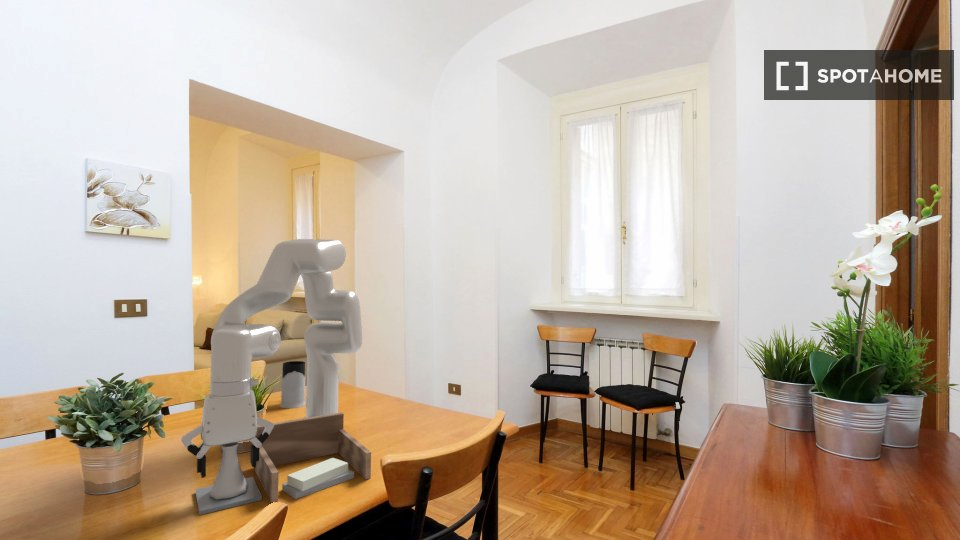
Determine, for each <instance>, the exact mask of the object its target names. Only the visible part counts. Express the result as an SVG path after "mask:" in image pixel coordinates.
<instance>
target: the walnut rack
mask: <svg viewBox="0 0 960 540" xmlns="http://www.w3.org/2000/svg"><path fill="white" fill-rule="evenodd" d="M272 423H273V424H274V427H273V429H272V431H271V433H270V434H269V437H268V438H267V439H266V440H265V441H264V442H263V443H262V445H261V447H260V451H259V461H256V467H253V470H254V471H255V473H256V476H257V477H258V479H259V482H260V483H261V485H262V487H263V490H264V491H265V493H266V495H267V497H268V499H269V501H270V503H271V504H273V503H272V502H274V503H278V502H279V471H278V469H277V467H276V466H280V465H281V466H282V465H286V464H291V463H297V462H301V461H306V460H310V459H315V458H320V457H324V456H329V455H334V454H339V455H340V456H341V457H342V458H343V459H344V460H345V462H347V463H348V465H350V466H351V467H352V468H353V469H354V470H355V471H357V473H358V474H359V475H360V476H362V478H363V479H365V480H370V479H371V478H372V474H371V473H372V470H371V469H372V451H370V450H369V449H368V448H367V447H365V445H363V444H362V443H361V442H360V441H359V440H357V439H356V438H354V437H353V436H352V435H351V434H350V433H349V432H347V430H345V429H344V413H343V412H338V413H335V414H328V415H322V416H315V417H309V418H305V417H302V418H298V419H296V418H295V419H291V420H285V421H279V422H272ZM264 429H265V427H263V426H260V425H257V434H256V437H258V436H259V435H260V434H261V433H262V432H263V431H264Z"/></svg>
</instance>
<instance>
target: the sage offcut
mask: <svg viewBox="0 0 960 540" xmlns="http://www.w3.org/2000/svg"><path fill="white" fill-rule="evenodd" d="M348 469H349V463H348V462H347V461H343V460H341V459H338V458H335V457H331V458H328V459H326V460H323V461H320V462H318V463H316V464H313V465H310V466H308V467H305V468H303V469H300V470H297V471H295V472H292V473H290V474H287V476H286V477H287V481H286V482H287V485H290V486H292V487H294V488H296V489H299V490H301V491H305V490H307V489H309V488H312V487H314V486H316V485H318V484H321V483H323V482H325V481H328V480H330V479H332V478H335V477H337V476H339V475H342V474H344V473H346V472H348Z"/></svg>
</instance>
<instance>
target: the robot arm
mask: <svg viewBox="0 0 960 540" xmlns="http://www.w3.org/2000/svg"><path fill="white" fill-rule="evenodd" d="M346 251H347V250H346V247H345V246H344V244H343V243H342V242H341V240H338V239H324V238H323V239H321V238H320V239H318V238H317V239H315V238H296V239H291V240H285V241H281V242H279V243H278V244H276V245H275V246H274V248H273V249H272V251H271V253H270V255H269V258H267V259H268V260H267V262H266V264H265V266H264V268H263V270H262V272H261V275H260V277H259V279H258V281H257V283H256V284H255V285H253V286H251V287H250V288H248V289H247V290H245V291H243V292H242V293H241V294H239V295H238V296H237V297H235V298H234V299H233V300H231V301H230V302H229V304H227V305H226V306H225V308H224V309H223V311H222V312H221V314H220V316H219V318H218V320H217V321H216V324H215V325H214V328H213V331H212V333H211V337H210V347H211V348H210V349H211V351H210V353H211V354H210V381H209V383H210V385H209V386H210V387H209V389H210V390H209V393H208V394H206V395H205V398H204V402H203V407H202V414H201V415H202V416H201V424H200V425H198V426H197V427H195V428H194V429H191V431H189V432H187V433H185V434H184V435H183V436H181V438H180V442H181V443H182V445H184V447H185V448H186V451H188V452H189V453H191V454H192V455H194V457H196V473H197V474H199V473H200V478H202V479H203V478H205V477H206V475H207V474H206V473H207V456H206V453H207V452H208V451H209V449H210V448H211V447H218V446H222V445H224V444H230V443H236V442H238V443H239V442H245V441H246V442H247V441H249V442H250V443H251V445H250V452H249V453H250V454H249V455H250V457H249V459H250V461H249V462H250V465H251V467H252V468H254V467H256V461H259V451H260V447H261V445H262V443H263V442H264V441H265V440H266V439H267V438H268V437H269V434H270V433H271V431H272V429H273V427H274V424H273V423H274V422H272V421H269V420H266V419H263V418H261V417H260V416H259V417H258V411H257V402H256V395H255V392H254V390H252V388H254V387H257V386H259V379H255V378H252V360H253V359H254V360H255V359H265V358H268V357H271V356H272V355H274V354H275V353H276V352H277V351H278V349H279V348H280V346H281V342H282V341H281V340H282V337H281V334H280V331H279V329H277V328H276V327H275V326H272V325H270V324H259V323H257V324H256V323H245V322H247V320H248V319H250V318H251V317H252V316H254V315H256V314H258V313H260V312H263V311H266V310H268V309H272V308H274V307H276V306H279V305H281V304H284V303H286V302H288V301H289V300H290V299H291V298H292V296H293V293H294V291H295V288H296V286H297V283H298V281H299V278H300V276H301V277H302V282H303V290H304V299H305V308H306V312H307V313H306V314H307V315H308V317H309V319H312V320H315V321H320V322H315V323H312V324H310V325H308V327H307V328H306V330H305V331H304V335H303V336H304V345H305V352H306V361H307V362H306V396H305V402H306V405H305V415H306V416H305V417H304V418H309V417H315V416H322V415H328V414H335V413H339V374H340V372H339V371H340V367H339V363H338V360H337V359H336V357H335V356H334V355H333V354H348V355H349V354H355V353H357V352H358V351H360V350H361V347H362V344H363V328H362V327H363V326H362V317H361V306H360V305H361V304H360V300H359V297H358V294H357V293H355V292H354V291H352V290H348V289H347V290H344V289H341V290H339V289H335V287H334V280H333V274H332V271H336V270H338V269H340V268H341V267H342V266H343V265H344V263H345V261H346V259H347V258H346V257H347V252H346ZM321 321H324V322H321ZM331 321H332V322H331ZM333 321H334V322H333ZM258 425H260V426H263V427H265V429H264V431H263V432H262V433H261V434H260V435H259V436H258V437H256V434H257V426H258ZM199 435H200V438H201V440H202V442H201V443H200V445H199V446H198V445H196V444H194V443H193V441H192V440H193V439H195V438H196V437H198V436H199Z"/></svg>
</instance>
